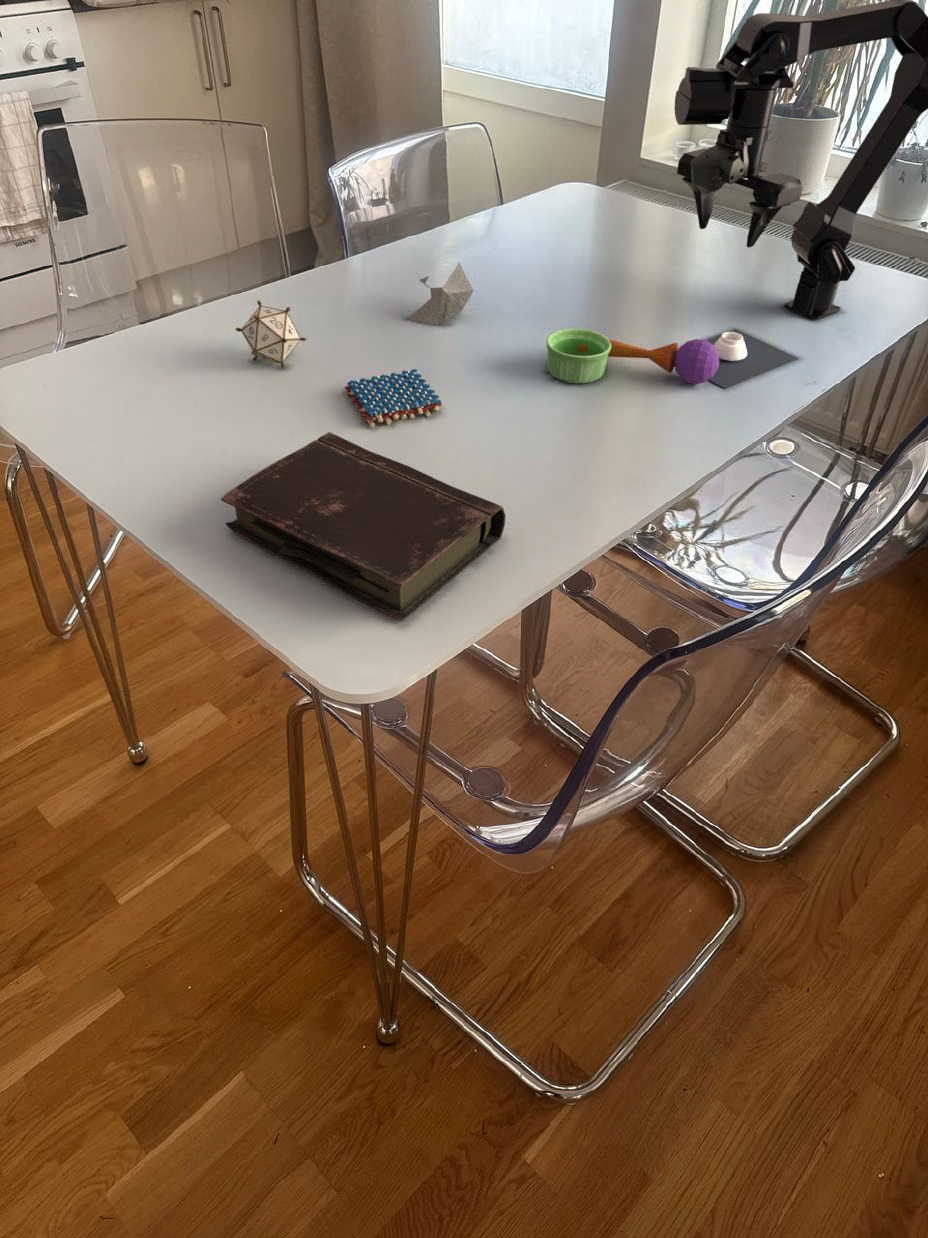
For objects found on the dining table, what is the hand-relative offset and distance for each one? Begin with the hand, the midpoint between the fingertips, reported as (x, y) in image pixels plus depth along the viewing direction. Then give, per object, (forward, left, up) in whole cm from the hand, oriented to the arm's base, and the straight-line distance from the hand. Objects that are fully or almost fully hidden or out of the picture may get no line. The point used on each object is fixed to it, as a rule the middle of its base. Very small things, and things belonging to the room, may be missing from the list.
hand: (725, 237), depth 140 cm
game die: (+64, -25, -12) cm, 70 cm away
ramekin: (+31, +2, -12) cm, 33 cm away
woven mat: (+57, -5, -12) cm, 59 cm away
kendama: (+22, +8, -12) cm, 27 cm away
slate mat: (+9, +12, -12) cm, 19 cm away
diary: (+76, +18, -12) cm, 79 cm away
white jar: (+9, +12, -12) cm, 19 cm away
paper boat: (+35, -24, -12) cm, 44 cm away
